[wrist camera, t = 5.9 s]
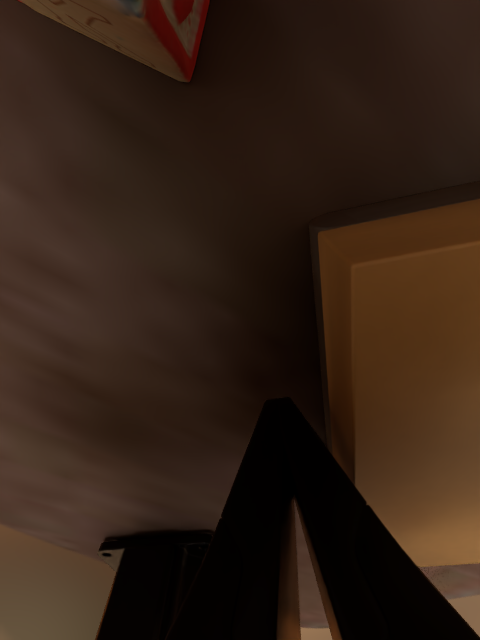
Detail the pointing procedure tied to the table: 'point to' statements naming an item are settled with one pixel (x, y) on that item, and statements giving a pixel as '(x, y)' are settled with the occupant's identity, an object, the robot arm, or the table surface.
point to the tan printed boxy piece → (137, 28)
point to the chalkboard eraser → (405, 363)
